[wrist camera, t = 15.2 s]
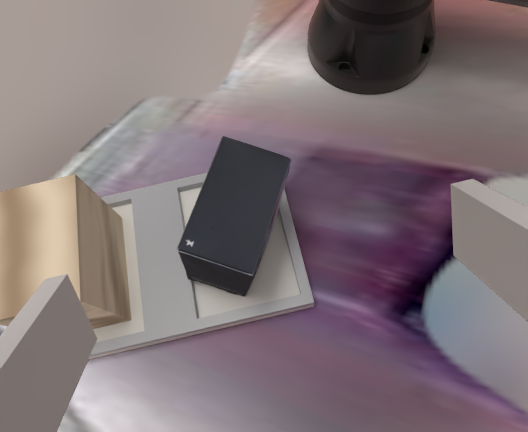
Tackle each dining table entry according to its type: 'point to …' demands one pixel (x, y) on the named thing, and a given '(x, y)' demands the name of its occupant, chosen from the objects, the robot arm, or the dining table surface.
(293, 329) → the dining table surface
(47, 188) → the block
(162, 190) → the tray
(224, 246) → the small box
